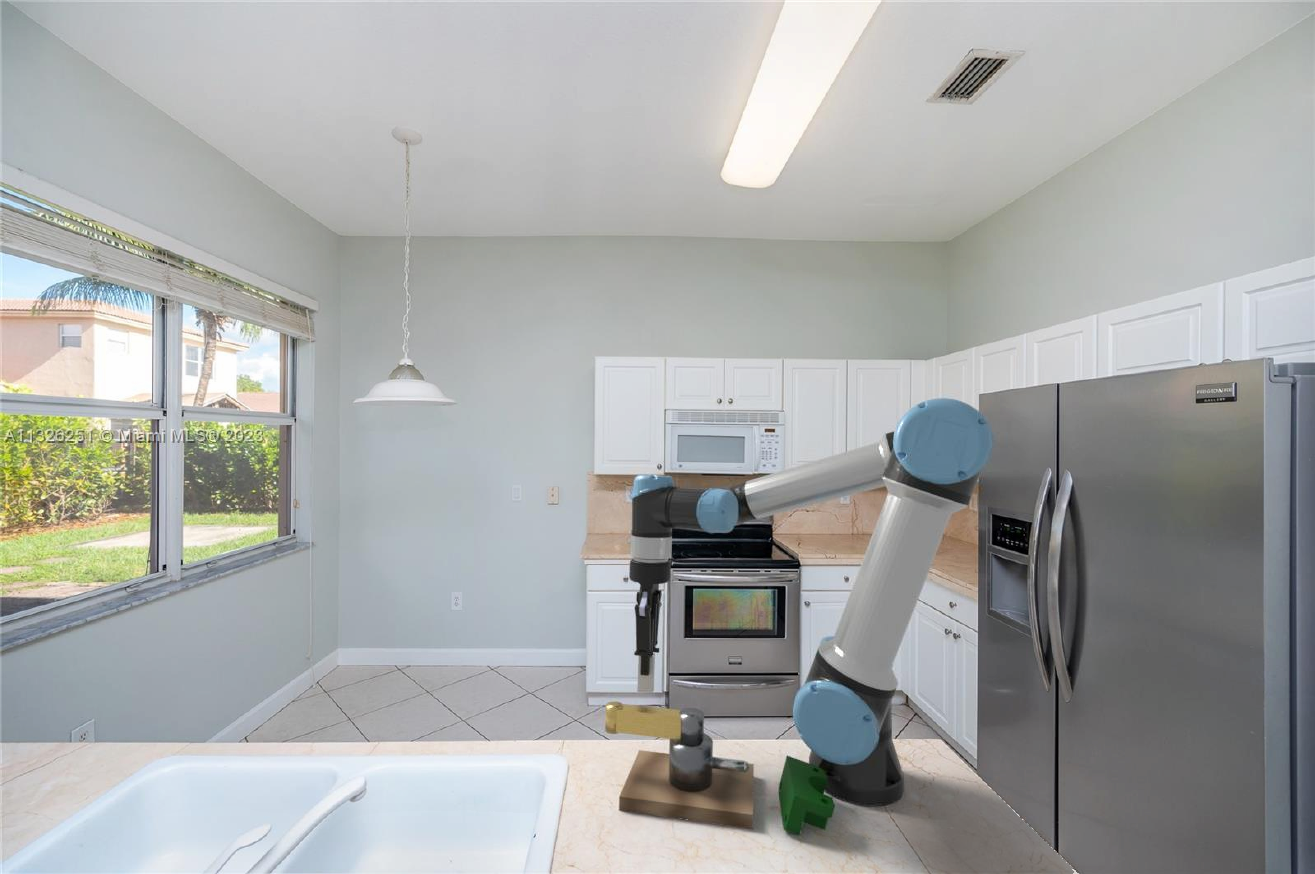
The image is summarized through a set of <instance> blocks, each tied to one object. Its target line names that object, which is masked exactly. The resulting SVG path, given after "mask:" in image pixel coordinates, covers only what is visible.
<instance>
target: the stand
mask: <svg viewBox="0 0 1315 874" xmlns="http://www.w3.org/2000/svg"><path fill="white" fill-rule="evenodd" d="M747 763H748V762H747ZM748 764H749V770H748V771H747V772H737V771H729V770H721V769H713V768H712V784H711V786H710V787H709V788H707V789H706V790H703V791H699V792H686V791H682V790H679V789H677V788H675V787H674V786H672V785H671V783H670V782H669V753H666V752H656V751H650V750H641V749H639V750H638V752H637V755H636V757H635V759H634V762H633V764H632V766H631V769H630V771H629V773H628V775H627V778H626V780H625V782H624V784H623V787H622V790H621V791H620V795H619V797H618V800H619V801H618V802H619V803H618V810H619V811H623V812H630V813H636V814H637V813H638V814H644V815H651V816H657V817H658V816H659V817H664V818H673V819H677V818H678V820H679V818H682V819H681V820H684V819H688V820H687V821H691V820H692V822H693V821H694V822H698V821H699V823H705V822H708V823H707V824H714V825H721V826H727V827H734V828H741V829H748V830H753V829H754V779H755V778H754V771H755V769H754V763H748Z"/></svg>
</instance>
